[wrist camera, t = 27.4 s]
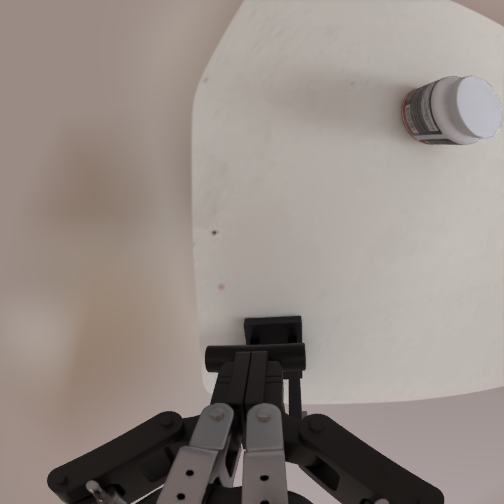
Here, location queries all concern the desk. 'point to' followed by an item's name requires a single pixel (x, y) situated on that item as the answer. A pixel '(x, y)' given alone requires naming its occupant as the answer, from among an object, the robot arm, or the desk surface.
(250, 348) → the lever
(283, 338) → the bracket
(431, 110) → the pill bottle
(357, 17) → the desk surface
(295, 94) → the desk surface
